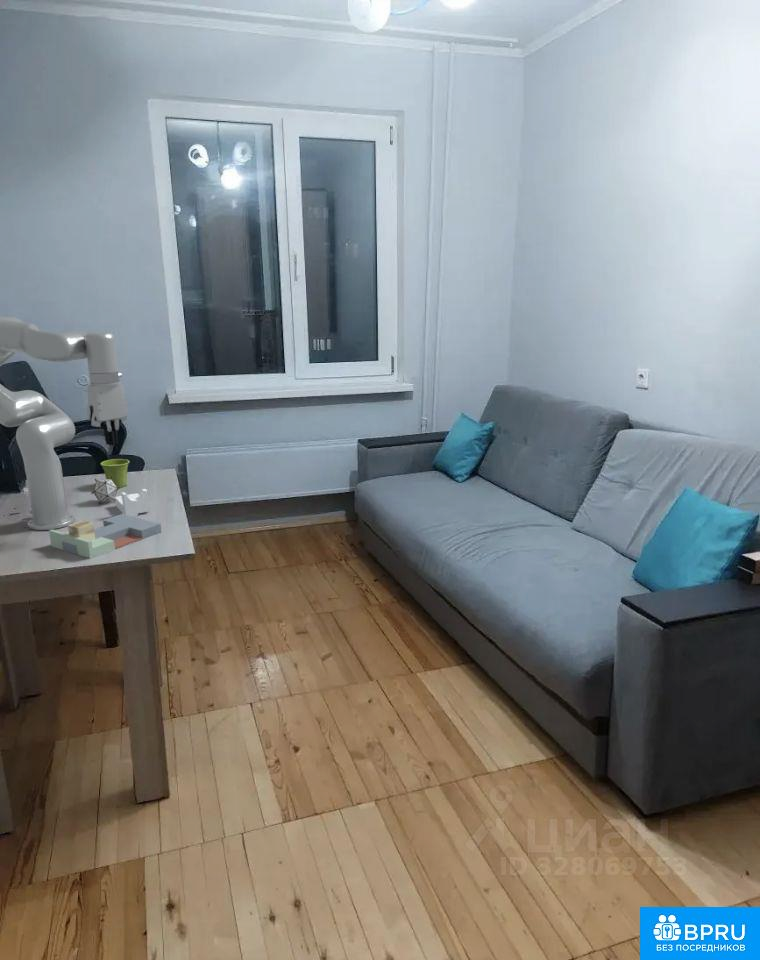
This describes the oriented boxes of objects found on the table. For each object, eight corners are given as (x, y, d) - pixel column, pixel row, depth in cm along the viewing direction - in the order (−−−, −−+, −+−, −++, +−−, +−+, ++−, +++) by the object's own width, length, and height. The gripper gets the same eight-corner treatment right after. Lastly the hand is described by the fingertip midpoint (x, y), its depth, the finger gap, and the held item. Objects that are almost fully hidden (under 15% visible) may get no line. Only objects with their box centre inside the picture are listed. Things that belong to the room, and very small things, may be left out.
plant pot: (126, 480, 248) (123, 457, 246) (135, 486, 241) (133, 462, 238) (100, 485, 242) (97, 461, 240) (108, 491, 235) (105, 467, 233)
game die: (111, 514, 223) (111, 495, 216) (86, 505, 223) (85, 486, 215) (124, 494, 229) (124, 475, 222) (99, 485, 229) (99, 466, 222)
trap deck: (51, 546, 186) (49, 530, 185) (122, 521, 205) (121, 507, 203) (90, 558, 177) (88, 542, 176) (161, 532, 196) (159, 517, 194)
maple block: (69, 541, 182) (67, 525, 181) (84, 536, 186) (82, 520, 185) (80, 544, 180) (78, 528, 179) (95, 539, 184) (93, 523, 182)
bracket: (149, 514, 212) (147, 490, 210) (126, 518, 208) (123, 494, 206) (138, 503, 223) (136, 481, 221) (115, 507, 219) (113, 484, 217)
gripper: (118, 374, 195) (126, 438, 200) (71, 381, 183) (80, 448, 188) (136, 376, 191) (143, 440, 196) (88, 382, 179) (97, 451, 184)
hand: (112, 444), depth 192 cm, fingers closed
